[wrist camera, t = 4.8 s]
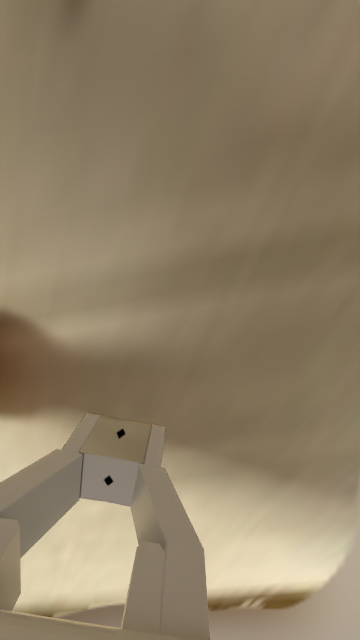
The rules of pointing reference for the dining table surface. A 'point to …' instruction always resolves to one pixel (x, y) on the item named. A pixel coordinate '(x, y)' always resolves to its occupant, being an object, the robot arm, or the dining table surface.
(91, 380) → the dining table surface
